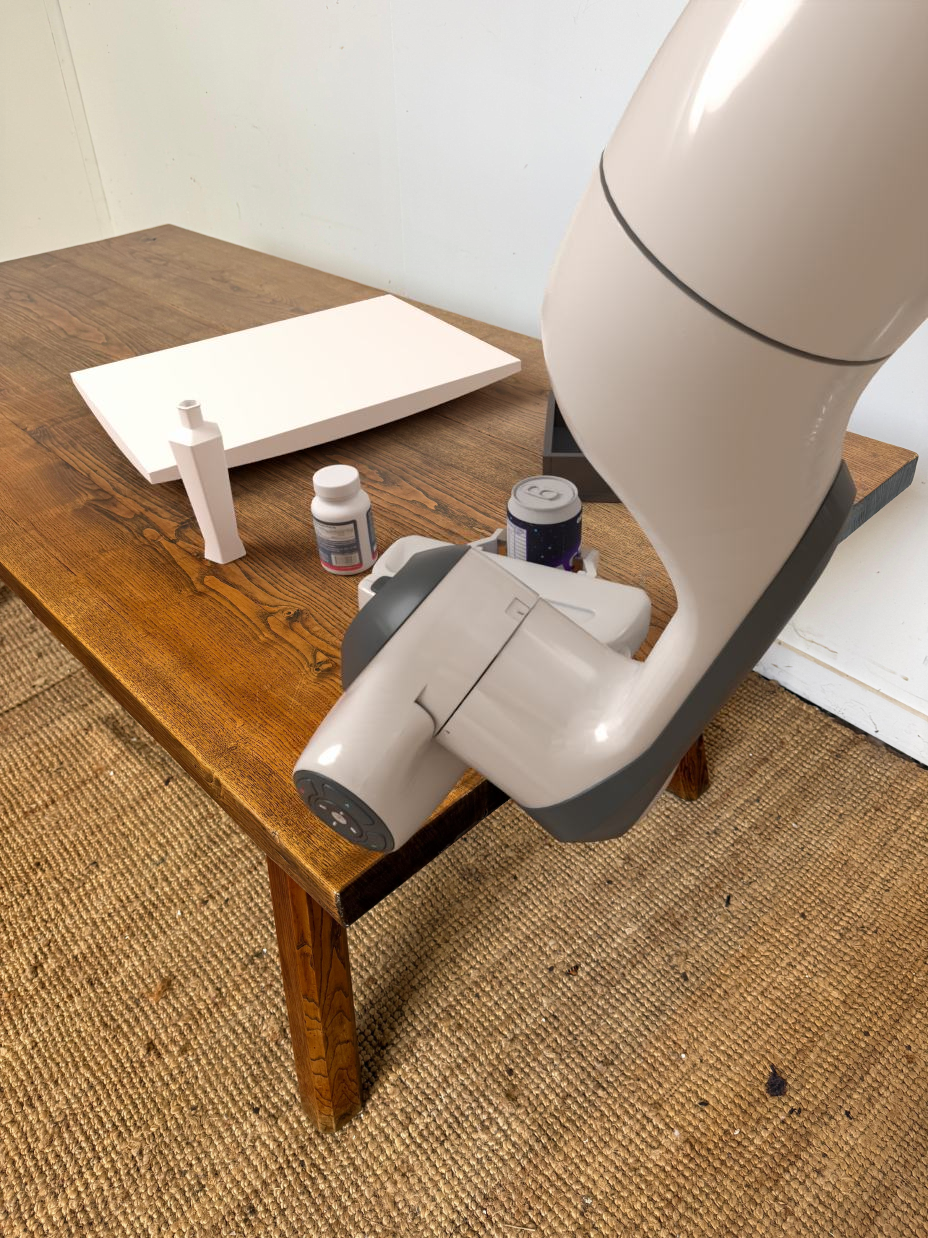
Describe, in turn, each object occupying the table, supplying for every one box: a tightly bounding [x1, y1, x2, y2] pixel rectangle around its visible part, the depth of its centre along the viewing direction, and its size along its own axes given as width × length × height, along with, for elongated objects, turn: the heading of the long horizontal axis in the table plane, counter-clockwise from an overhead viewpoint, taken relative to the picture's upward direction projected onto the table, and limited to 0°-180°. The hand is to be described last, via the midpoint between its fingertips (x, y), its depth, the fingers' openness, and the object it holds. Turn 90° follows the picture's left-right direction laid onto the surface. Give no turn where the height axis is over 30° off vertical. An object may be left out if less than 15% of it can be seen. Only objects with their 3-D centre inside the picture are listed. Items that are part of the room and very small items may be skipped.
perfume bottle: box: [168, 398, 247, 565], centre depth 79 cm, size 5×4×15 cm
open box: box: [541, 389, 622, 503], centre depth 91 cm, size 16×16×5 cm
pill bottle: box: [310, 464, 379, 576], centre depth 78 cm, size 5×5×9 cm
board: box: [69, 293, 522, 485], centre depth 108 cm, size 45×32×5 cm
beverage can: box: [506, 475, 584, 572], centre depth 69 cm, size 6×6×12 cm
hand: (547, 546), depth 69 cm, fingers closed on beverage can, 5 cm apart
